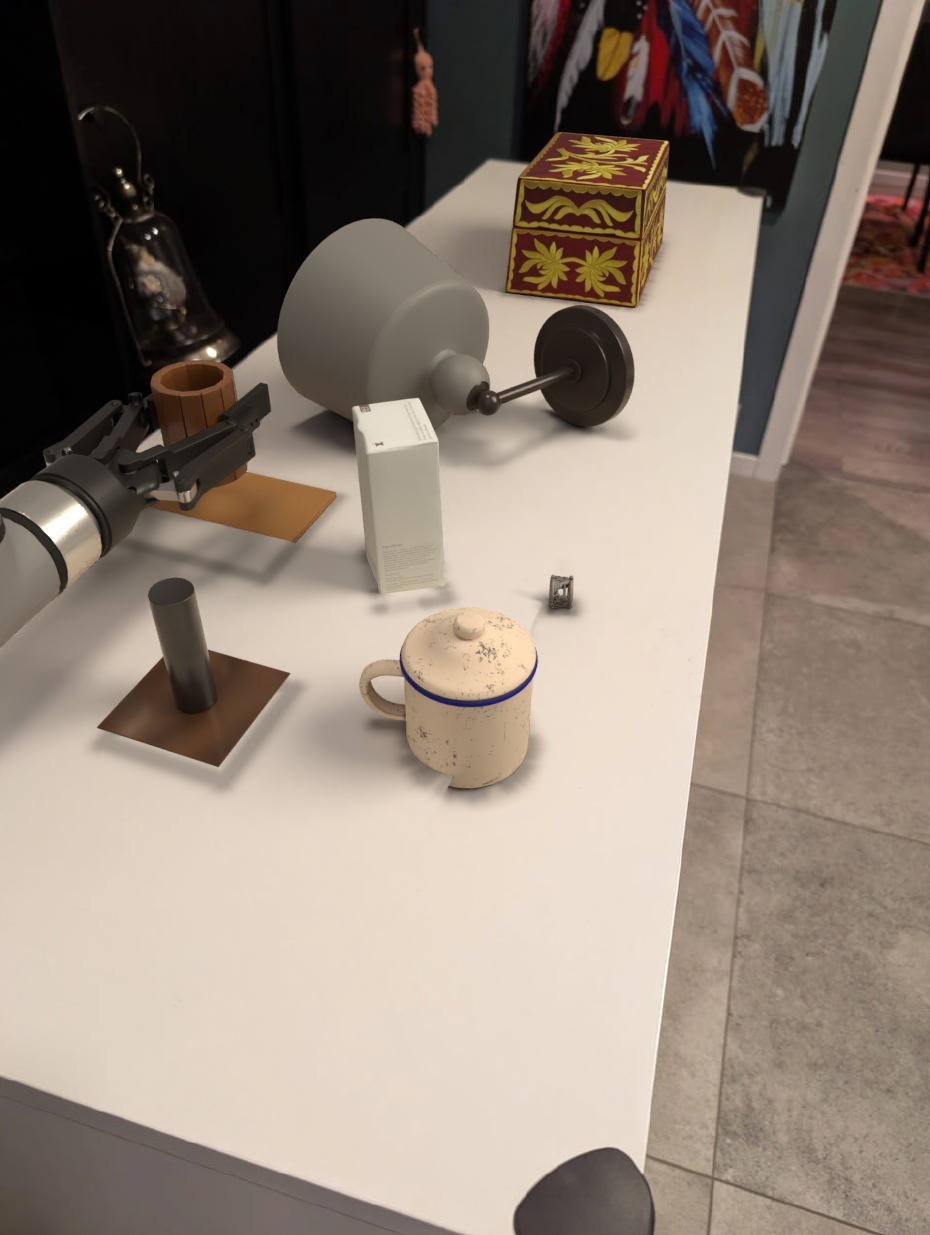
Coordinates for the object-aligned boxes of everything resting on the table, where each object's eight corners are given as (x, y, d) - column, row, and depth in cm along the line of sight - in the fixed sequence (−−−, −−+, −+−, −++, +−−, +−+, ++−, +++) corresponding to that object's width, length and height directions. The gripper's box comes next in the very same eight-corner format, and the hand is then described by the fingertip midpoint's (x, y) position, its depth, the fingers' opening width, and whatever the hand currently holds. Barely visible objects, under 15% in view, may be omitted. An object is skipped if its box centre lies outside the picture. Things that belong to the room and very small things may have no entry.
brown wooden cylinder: (155, 480, 86) (134, 387, 80) (198, 444, 91) (180, 354, 85) (221, 495, 84) (204, 401, 78) (261, 458, 89) (247, 367, 83)
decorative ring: (570, 616, 80) (573, 587, 78) (548, 614, 80) (550, 586, 78) (571, 595, 82) (574, 567, 80) (548, 593, 82) (551, 565, 80)
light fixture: (276, 233, 89) (477, 360, 77) (467, 196, 104) (661, 299, 92) (271, 422, 103) (442, 555, 91) (441, 366, 118) (607, 474, 106)
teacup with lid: (534, 704, 72) (543, 580, 64) (527, 799, 65) (537, 673, 57) (375, 691, 72) (366, 568, 65) (352, 784, 66) (339, 658, 58)
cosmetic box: (446, 598, 81) (445, 443, 72) (376, 609, 80) (365, 452, 71) (426, 542, 87) (423, 393, 78) (361, 551, 86) (349, 400, 77)
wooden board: (91, 534, 88) (89, 528, 88) (178, 461, 98) (177, 456, 98) (263, 578, 83) (262, 572, 83) (336, 496, 93) (336, 491, 93)
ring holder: (100, 742, 68) (58, 618, 61) (180, 654, 76) (151, 534, 68) (222, 781, 66) (193, 657, 58) (293, 687, 73) (275, 565, 65)
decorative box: (546, 230, 154) (552, 128, 144) (662, 242, 150) (677, 138, 141) (504, 292, 134) (508, 178, 124) (637, 308, 130) (652, 191, 120)
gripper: (-27, 535, 76) (147, 408, 93) (186, 591, 71) (330, 446, 87) (-59, 452, 71) (130, 334, 88) (166, 505, 66) (322, 369, 82)
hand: (229, 390), depth 87 cm, fingers closed on brown wooden cylinder, 7 cm apart
